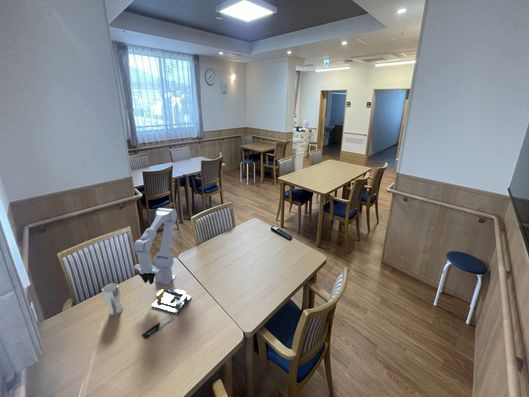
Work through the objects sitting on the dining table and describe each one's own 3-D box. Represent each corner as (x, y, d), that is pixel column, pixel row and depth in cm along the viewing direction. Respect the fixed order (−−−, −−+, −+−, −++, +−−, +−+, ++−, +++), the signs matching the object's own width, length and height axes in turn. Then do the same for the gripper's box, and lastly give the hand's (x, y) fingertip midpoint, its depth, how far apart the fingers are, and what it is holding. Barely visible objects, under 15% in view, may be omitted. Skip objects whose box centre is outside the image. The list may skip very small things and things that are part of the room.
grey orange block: (157, 299, 133) (156, 294, 132) (162, 294, 137) (161, 289, 135) (170, 303, 131) (169, 298, 130) (174, 297, 134) (173, 292, 133)
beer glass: (108, 318, 123) (101, 294, 118) (108, 308, 129) (102, 285, 123) (124, 313, 126) (118, 289, 121) (124, 303, 132) (118, 281, 126)
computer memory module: (169, 314, 126) (174, 318, 123) (170, 315, 126) (174, 319, 124) (141, 334, 115) (145, 339, 113) (141, 335, 115) (146, 340, 113)
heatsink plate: (151, 307, 130) (150, 301, 129) (166, 291, 141) (165, 285, 139) (178, 314, 126) (177, 308, 124) (191, 298, 137) (190, 292, 135)
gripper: (127, 262, 126) (132, 284, 131) (151, 268, 122) (155, 290, 127) (138, 255, 132) (142, 276, 137) (161, 260, 128) (164, 281, 133)
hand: (149, 282), depth 133 cm, fingers open, 3 cm apart
